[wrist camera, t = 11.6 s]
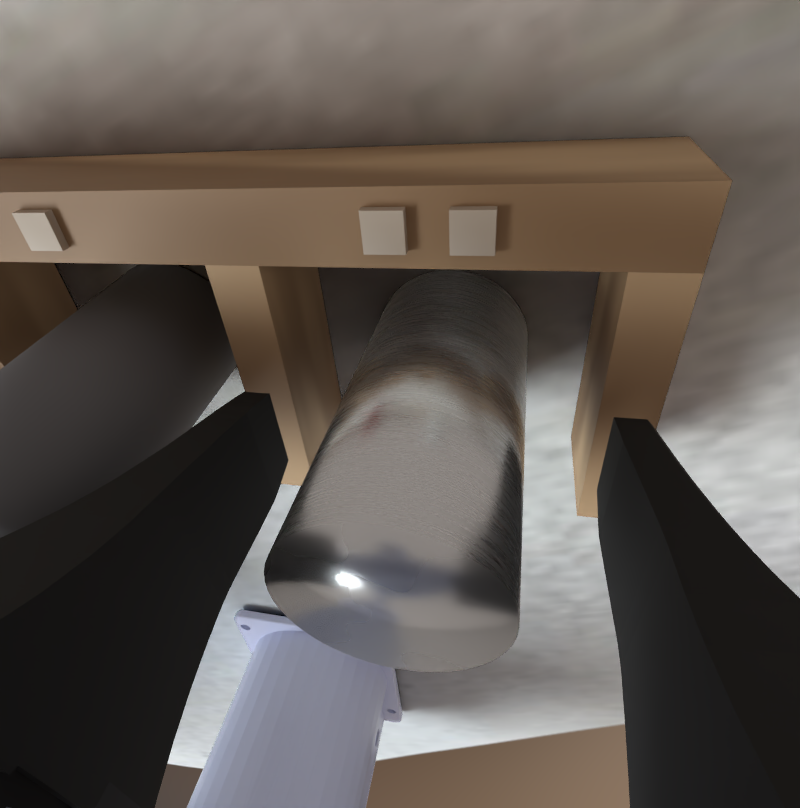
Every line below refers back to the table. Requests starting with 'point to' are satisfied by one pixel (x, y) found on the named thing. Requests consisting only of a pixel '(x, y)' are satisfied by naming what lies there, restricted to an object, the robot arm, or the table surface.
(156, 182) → the rack
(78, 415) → the dark grey cylinder
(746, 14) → the table surface
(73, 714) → the robot arm
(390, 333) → the grey rod
